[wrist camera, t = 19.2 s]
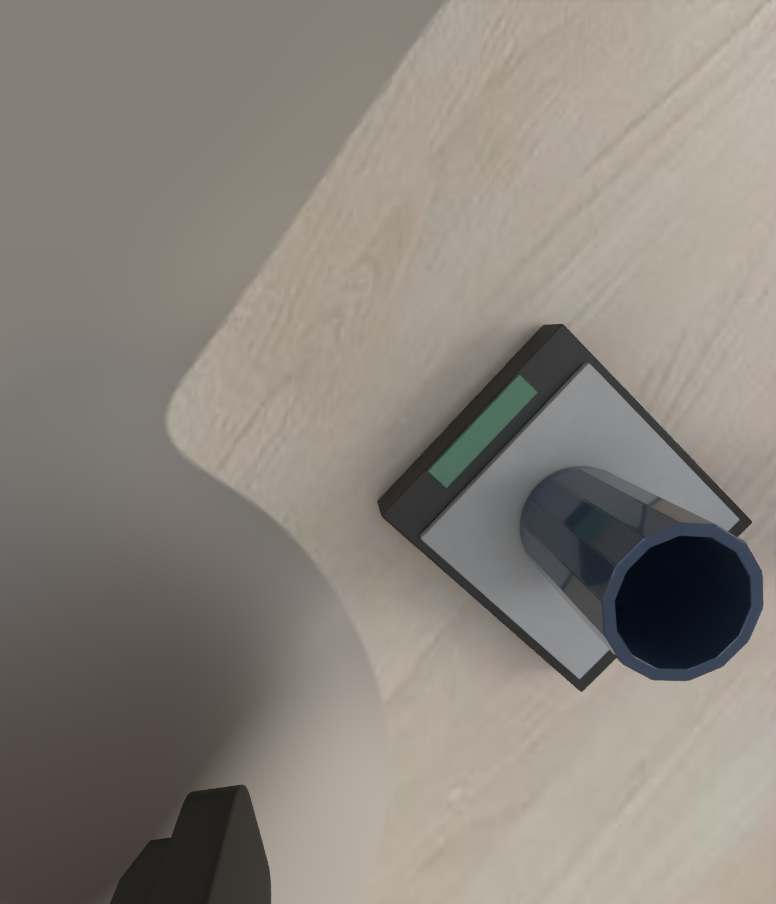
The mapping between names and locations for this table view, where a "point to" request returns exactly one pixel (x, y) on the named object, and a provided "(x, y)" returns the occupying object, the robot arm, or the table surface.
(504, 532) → the scale
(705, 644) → the cup
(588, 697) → the table surface
